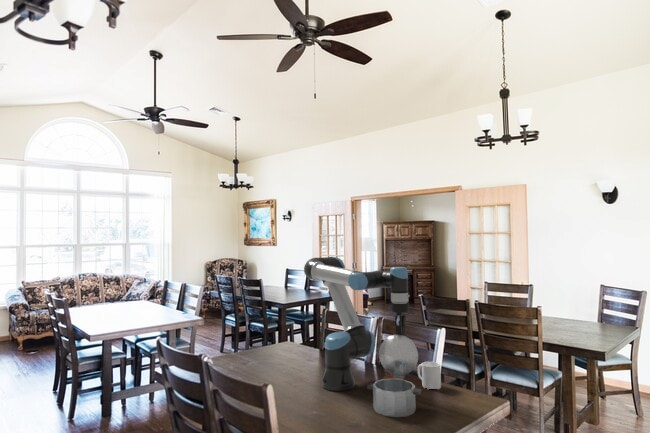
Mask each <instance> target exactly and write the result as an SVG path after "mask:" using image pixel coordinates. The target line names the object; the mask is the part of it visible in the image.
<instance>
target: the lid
mask: <svg viewBox="0 0 650 433" xmlns="http://www.w3.org/2000/svg"><path fill="white" fill-rule="evenodd" d="M378 357H379V361H380V364H381V365H382V367H383V369H385V370H386V371H387V372H388V373H389V374H393V375H392V377H396V378H403V379H405V376H406V375H408V374H411V372H413V371H414V369H415V368H416V366H417V364H418V360H419V352H418V349H417V346H416V345H415V343H414V341H413V340H411V339H410V338H409V337H408V336H406V335H405V336H403V335H396V334H393V335H392V334H391V335H389V336H387V337H386V338H385V339H384V340H383V341H382V342H381V343H380V347H379V351H378Z"/></svg>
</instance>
